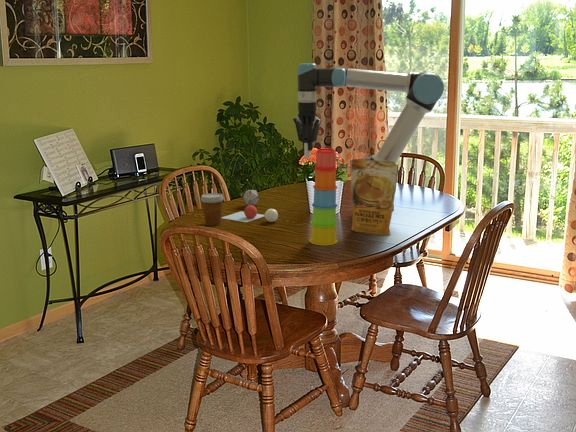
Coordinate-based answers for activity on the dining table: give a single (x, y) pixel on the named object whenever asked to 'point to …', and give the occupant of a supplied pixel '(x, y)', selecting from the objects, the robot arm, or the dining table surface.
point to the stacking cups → (324, 199)
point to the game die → (251, 197)
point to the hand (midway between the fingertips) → (307, 158)
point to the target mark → (241, 217)
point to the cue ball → (271, 215)
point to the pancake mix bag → (372, 195)
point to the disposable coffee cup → (212, 208)
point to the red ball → (250, 211)
